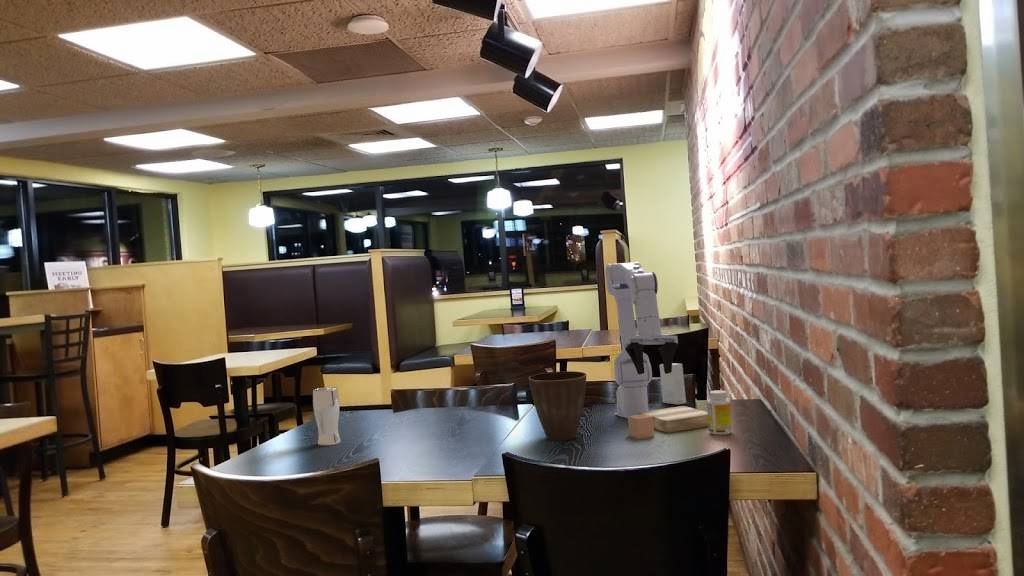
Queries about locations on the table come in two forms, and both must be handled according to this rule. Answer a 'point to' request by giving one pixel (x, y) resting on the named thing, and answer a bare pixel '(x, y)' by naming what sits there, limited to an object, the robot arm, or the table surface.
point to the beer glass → (327, 415)
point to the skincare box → (673, 385)
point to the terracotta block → (641, 426)
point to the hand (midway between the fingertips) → (654, 373)
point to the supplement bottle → (719, 413)
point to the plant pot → (559, 402)
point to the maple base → (678, 418)
